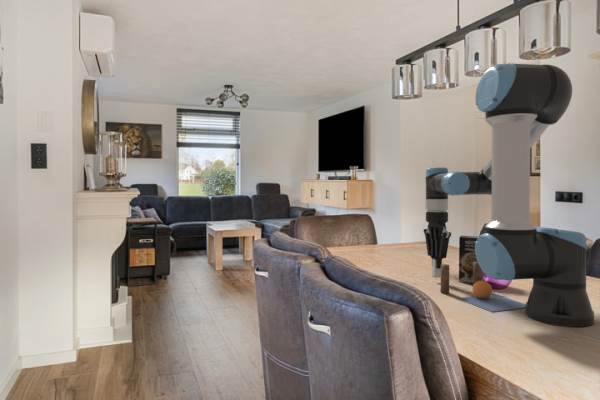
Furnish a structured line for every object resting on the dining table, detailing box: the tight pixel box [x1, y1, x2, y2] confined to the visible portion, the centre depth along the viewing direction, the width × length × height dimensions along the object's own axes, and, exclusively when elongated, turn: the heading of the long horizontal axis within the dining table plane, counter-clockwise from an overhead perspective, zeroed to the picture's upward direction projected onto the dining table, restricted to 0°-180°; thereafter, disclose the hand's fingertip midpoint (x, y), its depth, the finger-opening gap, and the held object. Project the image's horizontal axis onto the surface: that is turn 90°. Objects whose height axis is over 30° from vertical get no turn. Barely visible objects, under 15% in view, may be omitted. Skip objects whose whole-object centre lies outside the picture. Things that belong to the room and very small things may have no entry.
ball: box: [472, 280, 493, 299], centre depth 123 cm, size 6×6×6 cm
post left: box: [440, 263, 450, 295], centre depth 130 cm, size 3×3×9 cm
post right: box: [472, 262, 482, 286], centre depth 134 cm, size 3×3×9 cm
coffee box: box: [458, 235, 483, 284], centre depth 146 cm, size 9×6×16 cm
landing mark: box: [457, 293, 526, 313], centre depth 119 cm, size 14×14×1 cm
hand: (436, 276), depth 145 cm, fingers closed
